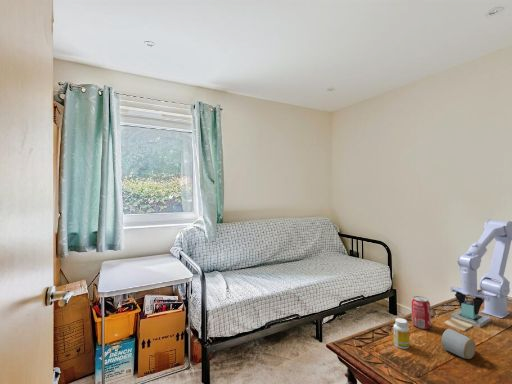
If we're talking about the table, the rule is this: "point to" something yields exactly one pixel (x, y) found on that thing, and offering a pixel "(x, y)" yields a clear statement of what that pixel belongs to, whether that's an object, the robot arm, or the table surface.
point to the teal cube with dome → (468, 309)
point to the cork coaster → (458, 324)
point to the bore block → (478, 323)
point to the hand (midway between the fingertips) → (469, 311)
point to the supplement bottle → (401, 333)
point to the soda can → (421, 312)
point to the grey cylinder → (458, 344)
